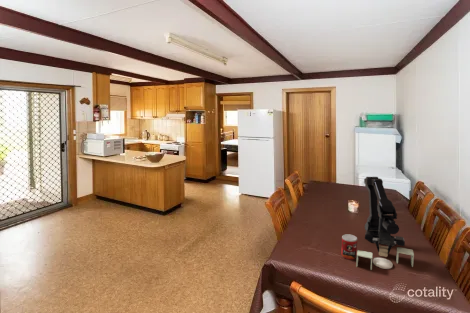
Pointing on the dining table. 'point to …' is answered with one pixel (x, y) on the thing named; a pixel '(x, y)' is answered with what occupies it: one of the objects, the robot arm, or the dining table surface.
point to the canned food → (349, 246)
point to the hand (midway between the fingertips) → (383, 252)
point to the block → (383, 251)
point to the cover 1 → (364, 254)
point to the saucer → (382, 263)
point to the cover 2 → (405, 251)
